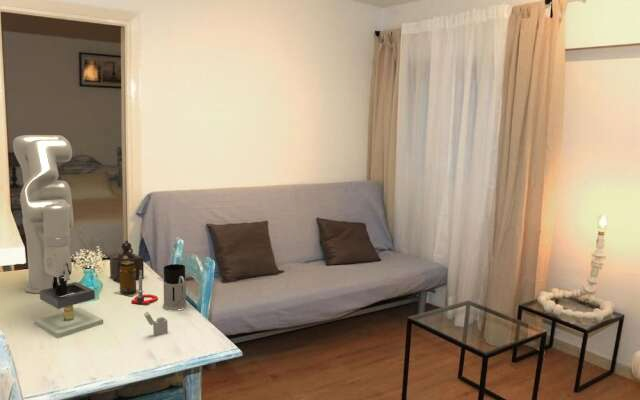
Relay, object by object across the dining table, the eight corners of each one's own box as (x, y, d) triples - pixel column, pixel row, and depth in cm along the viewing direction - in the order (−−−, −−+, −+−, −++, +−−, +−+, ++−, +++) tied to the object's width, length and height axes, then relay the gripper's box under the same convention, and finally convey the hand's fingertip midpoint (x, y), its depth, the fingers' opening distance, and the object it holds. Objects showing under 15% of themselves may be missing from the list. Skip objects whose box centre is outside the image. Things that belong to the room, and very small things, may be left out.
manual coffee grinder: (108, 278, 214) (106, 236, 211) (133, 273, 222) (131, 233, 219) (124, 287, 204) (123, 244, 201) (150, 281, 212) (149, 240, 209)
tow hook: (141, 296, 196) (128, 303, 187) (141, 263, 195) (128, 269, 186) (161, 298, 195) (150, 306, 186) (161, 265, 194) (150, 271, 185)
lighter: (165, 330, 166) (165, 307, 164) (167, 332, 164) (167, 309, 163) (144, 336, 161) (143, 312, 160) (145, 338, 160) (145, 314, 159)
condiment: (128, 287, 204) (127, 259, 202) (144, 291, 201) (143, 262, 199) (114, 293, 198) (113, 263, 196) (130, 297, 194) (130, 267, 192)
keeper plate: (34, 324, 167) (34, 319, 167) (78, 311, 179) (78, 307, 179) (58, 338, 158) (57, 333, 157) (103, 323, 170) (103, 319, 169)
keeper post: (62, 319, 168) (61, 303, 167) (71, 316, 170) (70, 301, 169) (66, 322, 166) (65, 306, 165) (75, 319, 168) (74, 303, 167)
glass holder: (182, 300, 193) (182, 262, 190) (196, 313, 181) (195, 272, 178) (159, 304, 188) (158, 265, 185) (171, 317, 176) (171, 276, 174)
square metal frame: (40, 299, 166) (39, 290, 165) (76, 290, 175) (76, 281, 175) (58, 309, 159) (57, 299, 158) (94, 298, 168) (94, 290, 168)
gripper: (34, 238, 169) (37, 291, 172) (57, 247, 159) (60, 303, 162) (57, 235, 174) (59, 286, 178) (80, 243, 165) (83, 297, 168)
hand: (60, 294), depth 170 cm, fingers closed on square metal frame
